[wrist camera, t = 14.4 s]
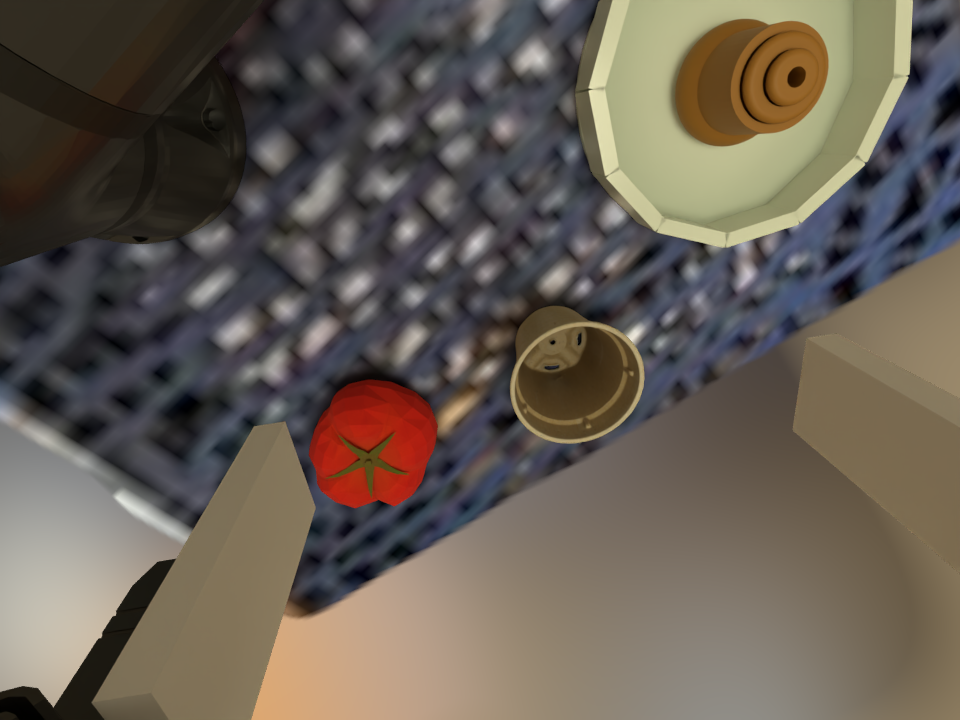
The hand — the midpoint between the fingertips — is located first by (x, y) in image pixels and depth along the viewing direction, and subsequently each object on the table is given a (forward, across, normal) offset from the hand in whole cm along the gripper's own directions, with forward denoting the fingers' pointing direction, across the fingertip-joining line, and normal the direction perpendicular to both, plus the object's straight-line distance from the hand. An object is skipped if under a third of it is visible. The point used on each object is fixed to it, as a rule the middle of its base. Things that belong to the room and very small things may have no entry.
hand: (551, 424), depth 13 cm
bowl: (+28, +18, +7) cm, 34 cm away
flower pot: (+29, +5, -10) cm, 31 cm away
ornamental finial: (+28, +18, +7) cm, 34 cm away
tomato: (+29, -11, -16) cm, 35 cm away
